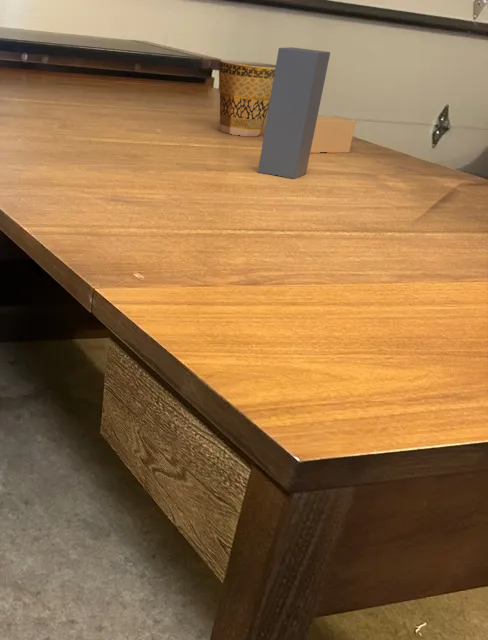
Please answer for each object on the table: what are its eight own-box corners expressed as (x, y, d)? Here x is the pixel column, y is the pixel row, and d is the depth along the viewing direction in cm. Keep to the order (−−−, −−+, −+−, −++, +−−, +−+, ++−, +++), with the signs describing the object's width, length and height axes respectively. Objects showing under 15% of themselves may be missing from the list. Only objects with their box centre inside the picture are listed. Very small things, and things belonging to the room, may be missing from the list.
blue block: (270, 167, 110) (291, 47, 102) (306, 174, 108) (330, 52, 100) (257, 172, 106) (278, 47, 98) (294, 179, 104) (318, 52, 97)
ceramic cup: (267, 141, 130) (279, 69, 124) (205, 132, 131) (214, 61, 126) (275, 130, 140) (286, 64, 135) (218, 123, 142) (227, 57, 136)
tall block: (336, 115, 128) (276, 114, 122) (356, 120, 124) (295, 119, 119) (329, 147, 130) (270, 147, 125) (349, 152, 127) (289, 153, 122)
